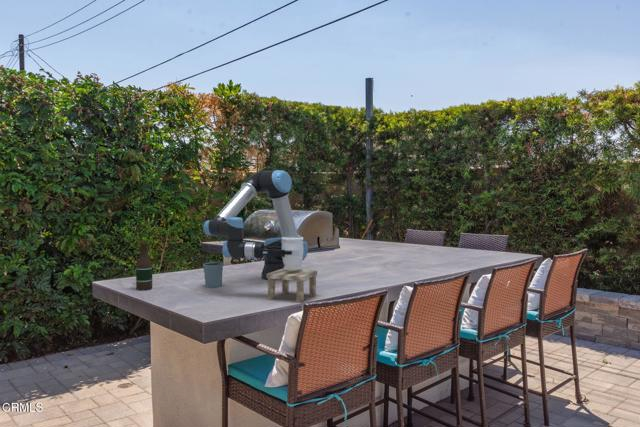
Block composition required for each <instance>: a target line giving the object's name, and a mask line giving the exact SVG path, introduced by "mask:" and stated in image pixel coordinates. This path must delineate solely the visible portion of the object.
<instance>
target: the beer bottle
mask: <svg viewBox="0 0 640 427" xmlns="http://www.w3.org/2000/svg"><path fill="white" fill-rule="evenodd" d="M148 244H149V243H148V242H146V241H142V242H140V243H139V246H140V251H139V259H138V260H137V262H136V264H135V277H136V278H135V283H136V284H135V288H136V290H137V291H149V290H152V289H153V263H152V260H151V259H150V258H149V251H148Z"/></svg>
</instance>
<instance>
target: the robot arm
mask: <svg viewBox="0 0 640 427" xmlns="http://www.w3.org/2000/svg"><path fill="white" fill-rule="evenodd" d="M292 181H293V180H292V177H291V175H290V174H289V173H288V172H286V171H285V170H280V169H276V170H273V169H272V170H259V171H257V172H254V173H253V174H251V175H250V176H249V177H247V178H246V179H245V180H244V181H243V182H242V183H241V185H240V189H239V190H238V191H237V192H236V193H235V194H234V195H233V196H232V198H231V199H230V200H229V201H228V202H227V204H225V206H223V208H222V209H221V210H220V212H218V213H217V215H216V216H215V217H214V218H213V219H210V220H206V221H205V222H204V224H203V226H202V227H203V228H202V229H203V232H204V233H205V235H207V236H210V237H211V236H212V237H226V238H227V241H225V242H223V244H222V255H223V257H224V258H230V259H248V260H249V261H250V260H251V259H261V260H262V259H263V260H264V261H263V262H264V265H263V268H262V271H261V277H260V278H261V279H263V280H268V278H267V274H268V273H271V272H274V271H277V270H280V269H283V268H284V267H285V265H284V263H283V257H285V256H299V250H282V243H283V240H282V237H302V236H301V235H300V234H298V231H297V227H296V223H295V219H294V216H293V211H292V207H291V203H290V200H289V194H290V191H291V189H292V184H293V182H292ZM261 193H266V194H267V196H268V198H269V199H270V200H272V204H273V208H274V212H275V215H276V218H277V222H278V223H277V224H278V226H279V229H280V233H281V237H272V238H266V239H265V240H264V242H252V241H250V242H248V241H247V242H246V241H245V242H244V228H245V226H244V219H243V218H242V217H237V216H238V215H239V214H240V212H241V211H242V209H244V208H245V206H246V205H247V204H248V203H249V202H250V200H251V199H252V198H255V197H257V195H258V194H261ZM302 242H303V248H304V251H303V259H302V262H304V261H305V259H306V258H307V256H308V253H309V245H308V242H307V241H304V240H302ZM282 256H283V257H282ZM276 280H278V281H279V279H275V281H276Z"/></svg>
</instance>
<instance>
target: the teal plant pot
mask: <svg viewBox="0 0 640 427" xmlns="http://www.w3.org/2000/svg"><path fill="white" fill-rule="evenodd" d="M202 265H203V273H204V274H203V276H204V285H205V288H210V289H211V288H214V289H216V288H221V287H222V286H223V269H224V268H223V267H224V263H223V262H218V261H217V262H216V261H214V262H205V263H203V264H202Z"/></svg>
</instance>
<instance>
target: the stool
mask: <svg viewBox="0 0 640 427" xmlns="http://www.w3.org/2000/svg"><path fill="white" fill-rule="evenodd" d="M317 275H318V270H316V269H315V270H314V269H302V268H301V269H300V270H285V269H284V268H283V269H280V270H277V271H274V272H271V273H268V274H267V278H268V279H267V300H269V301H272V300H273V301H274V300H275V299H276V280H275V279H278V280H281V293H282V294H284V295H285V294H286V295H287V294H289V292H290V291H289V290H290V281H295V282H296V303H302V304H303V303H304V301H305V300H304V298H305V296H304V294H305V291H304V288H305V286H304V283H305V282H304V281H305V280H309V286H308V287H309V295H308V296H309V297H315V296H317Z"/></svg>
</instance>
